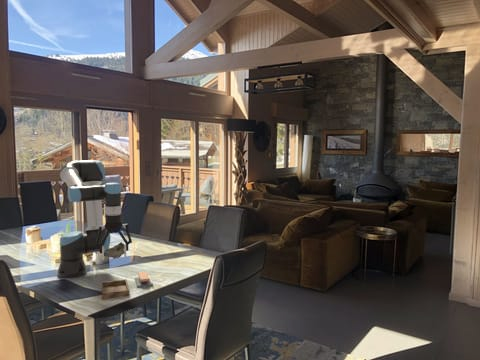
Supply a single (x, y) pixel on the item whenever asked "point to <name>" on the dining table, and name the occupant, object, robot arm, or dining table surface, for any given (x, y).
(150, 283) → the checker base
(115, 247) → the rock
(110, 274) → the dining table surface
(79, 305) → the dining table surface
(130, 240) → the robot arm
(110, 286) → the tray
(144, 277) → the checker pad
